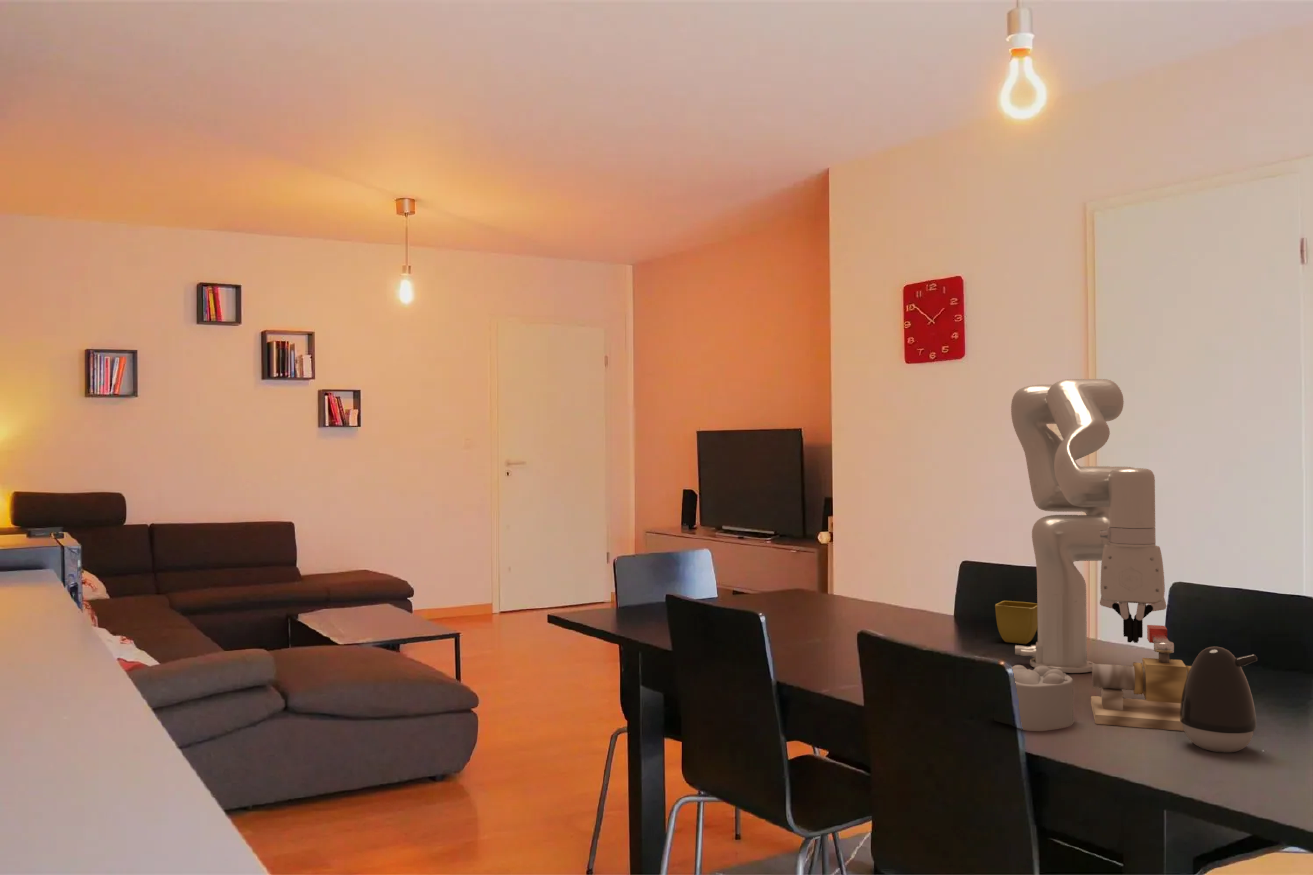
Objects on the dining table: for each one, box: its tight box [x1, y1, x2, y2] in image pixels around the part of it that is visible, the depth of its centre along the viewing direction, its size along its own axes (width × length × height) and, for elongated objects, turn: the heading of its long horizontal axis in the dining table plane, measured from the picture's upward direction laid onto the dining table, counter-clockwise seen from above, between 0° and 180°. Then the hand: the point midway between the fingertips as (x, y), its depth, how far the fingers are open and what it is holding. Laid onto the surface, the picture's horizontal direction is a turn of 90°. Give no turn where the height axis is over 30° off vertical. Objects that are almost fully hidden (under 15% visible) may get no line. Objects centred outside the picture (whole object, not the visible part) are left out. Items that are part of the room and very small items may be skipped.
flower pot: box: [994, 600, 1038, 645], centre depth 244 cm, size 9×9×9 cm
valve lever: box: [1146, 624, 1175, 654], centre depth 178 cm, size 14×3×2 cm, turn 160°
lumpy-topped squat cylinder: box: [1011, 664, 1074, 732], centre depth 172 cm, size 10×13×9 cm
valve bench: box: [1090, 652, 1192, 732], centre depth 173 cm, size 22×14×11 cm, turn 70°
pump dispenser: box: [1180, 646, 1258, 754], centre depth 156 cm, size 10×10×15 cm
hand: (1133, 641), depth 183 cm, fingers closed
